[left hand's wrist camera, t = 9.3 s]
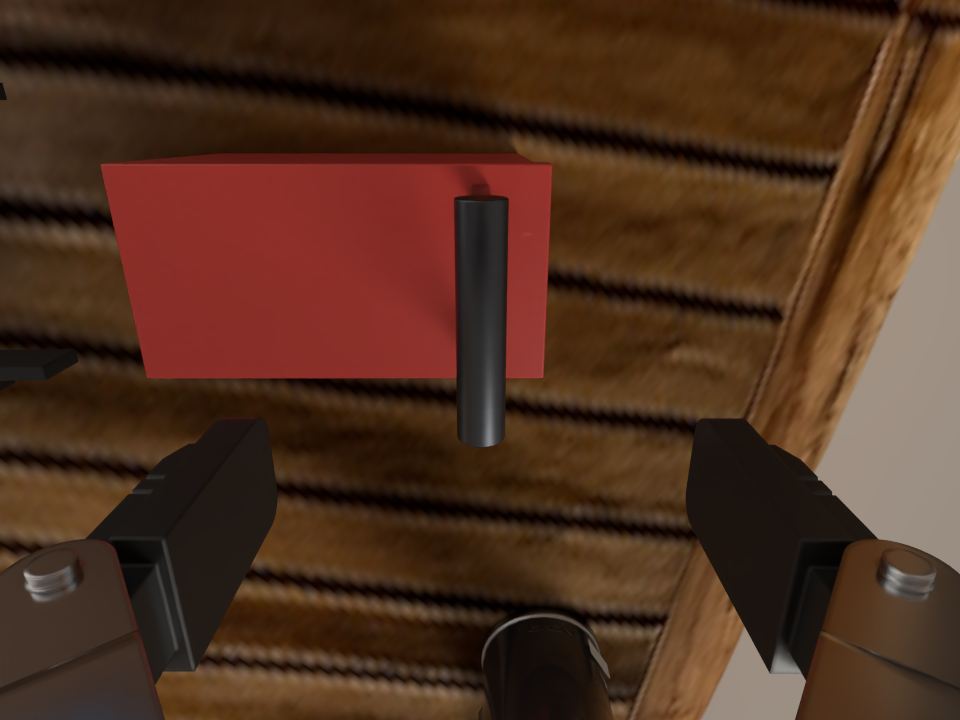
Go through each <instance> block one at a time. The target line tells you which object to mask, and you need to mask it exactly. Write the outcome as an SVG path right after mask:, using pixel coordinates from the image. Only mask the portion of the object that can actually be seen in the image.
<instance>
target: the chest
mask: <svg viewBox="0 0 960 720" xmlns="http://www.w3.org/2000/svg"><path fill="white" fill-rule="evenodd" d="M126 162H532V161H530V160H528V159H526V158H525V157H523V156H521V155H519V154H518V153H219V154H208V155H196V156H185V157H173V158H161V159H150V160H138V161H126Z"/></svg>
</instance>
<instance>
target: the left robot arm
mask: <svg viewBox="0 0 960 720" xmlns="http://www.w3.org/2000/svg"><path fill="white" fill-rule="evenodd" d="M132 491H133V492H132V494H128V495H127V496H126V498H125V499H124V500H123V501H122V502H121V503H120V504H119V505H118V506H117V507H116V508H115V509H114V510H113V511H112V512H111V513H110V514H109V515H108V516H107V517H106V518H105V519H104V520H103V521H102V522H101V523H100V524H99V525H98V526H97V527H96V529H95V530H94V531H93V532H92V533H91V534H90V535H89V536H88V537H87V538H86V539H80V540H72V541H67V542H62V543H59V544H55V545H52V546H49V547H46V548H43V549H41V550H38V551H36V552H34V553H32V554H30V555H28V556H26V557H24V558H22V559H20V560H19V561H17V562H16V563H14V564H13V565H11V566H10V567H8V568H7V569H6V570H5V571H3V572H2V573H1V574H0V720H165V719H164V715H163V712H162V708H161V705H160V701H159V698H158V694H157V691H156V687H155V684H156V683H157V681H158V679H159V678H160V676H161V674H162V672H163V671H195V670H196V668H197V666H198V664H199V662H200V660H201V659H202V657H203V655H204V653H205V651H206V649H207V647H208V645H209V643H210V641H211V640H212V638H213V636H214V634H215V632H216V630H217V628H218V626H219V624H220V623H221V621H222V619H223V617H224V615H225V613H226V611H227V609H228V607H229V606H230V604H231V602H232V600H233V598H234V596H235V594H236V592H237V590H238V588H239V587H240V585H241V583H242V581H243V579H244V577H245V575H246V573H247V571H248V570H249V568H250V566H251V564H252V562H253V560H254V558H255V556H256V554H257V553H258V551H259V549H260V547H261V545H262V543H263V541H264V539H265V537H266V535H267V534H268V532H269V530H270V528H271V526H272V524H273V521H274V518H275V514H276V508H277V487H276V480H275V473H274V466H273V459H272V452H271V445H270V438H269V432H268V427H267V424H266V422H265V420H264V419H263V418H219V419H218V420H216V422H215V423H214V424H213V425H212V426H211V427H210V428H209V429H208V430H207V431H206V433H205V434H204V435H203V436H202V437H201V438H200V439H199V440H198V441H197V442H196V443H195V444H188V445H186V446H184V447H183V448H181V449H179V450H177V451H176V452H174V453H172V454H170V455H169V456H167V457H165V458H163V459H162V460H161V461H160V462H159V463H158V464H157V465H156V467H155V468H154V469H153V470H152V471H151V472H150V473H149V474H148V475H147V478H146V479H143V480H142V481H141V482H140V483H139V484H138V485H137V486H136V487H135V488H134V489H133V490H132ZM686 509H687V515H688V519H689V522H690V525H691V527H692V529H693V531H694V532H695V534H696V536H697V538H698V540H699V542H700V544H701V546H702V547H703V549H704V551H705V553H706V555H707V557H708V559H709V561H710V562H711V564H712V566H713V568H714V570H715V572H716V574H717V575H718V577H719V579H720V581H721V583H722V585H723V587H724V589H725V590H726V592H727V594H728V596H729V598H730V600H731V602H732V604H733V605H734V607H735V609H736V611H737V613H738V615H739V617H740V618H741V620H742V622H743V624H744V626H745V628H746V630H747V631H748V633H749V635H750V637H751V639H752V641H753V643H754V645H755V646H756V648H757V650H758V652H759V654H760V656H761V658H762V660H763V661H764V663H765V665H766V667H767V669H768V671H769V673H770V674H802V675H803V676H804V678H805V680H806V684H805V687H804V691H803V694H802V698H801V701H800V705H799V708H798V712H797V715H796V719H795V720H960V574H959V573H958V572H957V571H955V570H954V569H953V568H951V567H950V566H949V565H947V564H946V563H944V562H943V561H941V560H940V559H938V558H936V557H934V556H932V555H930V554H928V553H926V552H924V551H922V550H919V549H917V548H914V547H911V546H908V545H905V544H901V543H897V542H893V541H888V540H879V539H878V538H877V537H876V536H875V535H874V534H873V533H872V532H871V531H870V530H869V529H868V528H867V527H866V526H865V525H864V524H863V523H862V522H861V521H860V520H859V519H858V518H857V517H856V516H855V515H854V514H853V513H852V512H851V511H850V510H849V509H848V508H847V507H846V505H845V504H843V502H842V501H841V500H840V499H839V498H838V497H837V496H834V495H832V491H831V490H830V489H829V488H828V487H827V486H826V485H825V484H824V483H823V482H822V481H818V477H817V476H816V475H815V474H814V473H813V472H812V471H811V470H810V469H809V468H808V467H807V466H806V465H805V464H804V462H803V461H802V460H800V459H799V458H797V457H795V456H793V455H792V454H790V453H788V452H786V451H785V450H783V449H781V448H779V447H778V446H776V445H768V444H767V442H766V441H765V440H764V439H763V438H762V437H761V436H760V435H759V434H758V433H757V432H756V430H755V429H754V428H753V427H752V426H751V425H750V424H749V423H748V422H747V421H746V420H745V419H700V420H699V422H698V423H697V426H696V429H695V434H694V441H693V448H692V454H691V461H690V468H689V475H688V482H687V489H686ZM481 661H482V670H483V706H482V708H481V710H480V711H479V713H478V720H614V719H613V714H612V710H611V705H610V701H609V697H608V692H607V687H606V683H605V678H604V674H603V670H604V671H605V673H606V674H607V675H608V677H609V678H610V676H609V672H608V668H607V664H606V662H605V661H604V660H603V658H602V657H601V656H600V650H599V646H598V642H597V639H596V637H595V634H594V633H593V631H592V630H591V629H590V627H589V626H588V625H587V624H586V623H585V622H583V621H582V620H581V619H579V618H578V617H576V616H574V615H572V614H570V613H567V612H564V611H561V610H556V609H549V608H536V609H528V610H524V611H520V612H517V613H514V614H512V615H510V616H508V617H506V618H504V619H503V620H501V621H500V622H498V623H497V624H496V625H495V626H494V627H493V628H492V629H491V630H490V631H489V633H488V634H487V636H486V638H485V640H484V643H483V646H482V652H481ZM602 669H603V670H602Z"/></svg>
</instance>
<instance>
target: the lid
mask: <svg viewBox="0 0 960 720" xmlns="http://www.w3.org/2000/svg"><path fill="white" fill-rule="evenodd" d="M101 170H102V174H103V179H104V183H105V188H106V192H107V197H108V202H109V206H110V211H111V215H112V220H113V224H114V229H115V234H116V238H117V243H118V247H119V252H120V256H121V261H122V266H123V270H124V275H125V279H126V284H127V288H128V293H129V298H130V302H131V307H132V311H133V316H134V320H135V325H136V330H137V334H138V339H139V343H140V348H141V352H142V357H143V362H144V366H145V371H146V375H147V378H457V436H458V439H459V440H460V441H461V442H462V443H464V444H466V445H468V446H472V447H490V446H494V445H497V444H499V443H500V442H502V441H503V439H504V437H505V398H506V378H543V376H544V355H545V331H546V307H547V283H548V260H549V236H550V212H551V188H552V164H550V163H548V162H115V163H103V164H101Z"/></svg>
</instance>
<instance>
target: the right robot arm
mask: <svg viewBox="0 0 960 720" xmlns="http://www.w3.org/2000/svg"><path fill="white" fill-rule="evenodd" d="M0 100H7V98H6V95H5V91H4V87H3V84H2V83H0ZM77 362H78V359H77V355H76V351H75V349H49V350H0V390H2V389H4V388H6V387H8V386H10V385H11V384H13V383H15V381H24V380H47V379H49V378H51V377H52V376H54V375H56V374H58V373H59V372H61V371H63V370H65V369H66V368H68V367H70V366H72V365H73V364H75V363H77Z"/></svg>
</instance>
